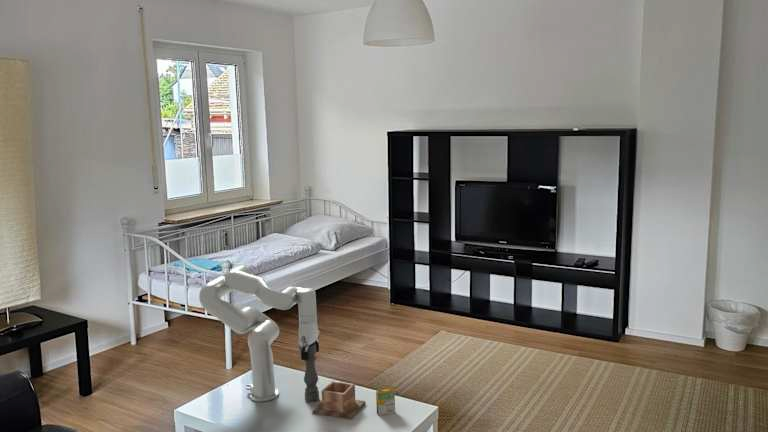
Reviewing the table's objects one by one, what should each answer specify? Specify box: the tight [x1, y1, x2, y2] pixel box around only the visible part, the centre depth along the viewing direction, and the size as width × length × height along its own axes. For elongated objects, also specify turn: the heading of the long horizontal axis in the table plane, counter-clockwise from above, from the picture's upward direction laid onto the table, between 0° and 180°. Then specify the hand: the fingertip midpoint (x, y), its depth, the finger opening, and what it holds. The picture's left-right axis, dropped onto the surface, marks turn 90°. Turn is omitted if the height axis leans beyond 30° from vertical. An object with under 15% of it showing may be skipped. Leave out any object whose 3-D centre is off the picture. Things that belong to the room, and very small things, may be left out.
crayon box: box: [375, 386, 396, 416], centre depth 259 cm, size 7×3×12 cm, turn 106°
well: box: [311, 380, 366, 420], centre depth 264 cm, size 18×14×10 cm
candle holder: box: [303, 342, 320, 404], centre depth 272 cm, size 6×6×25 cm
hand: (310, 355), depth 271 cm, fingers open, 9 cm apart
